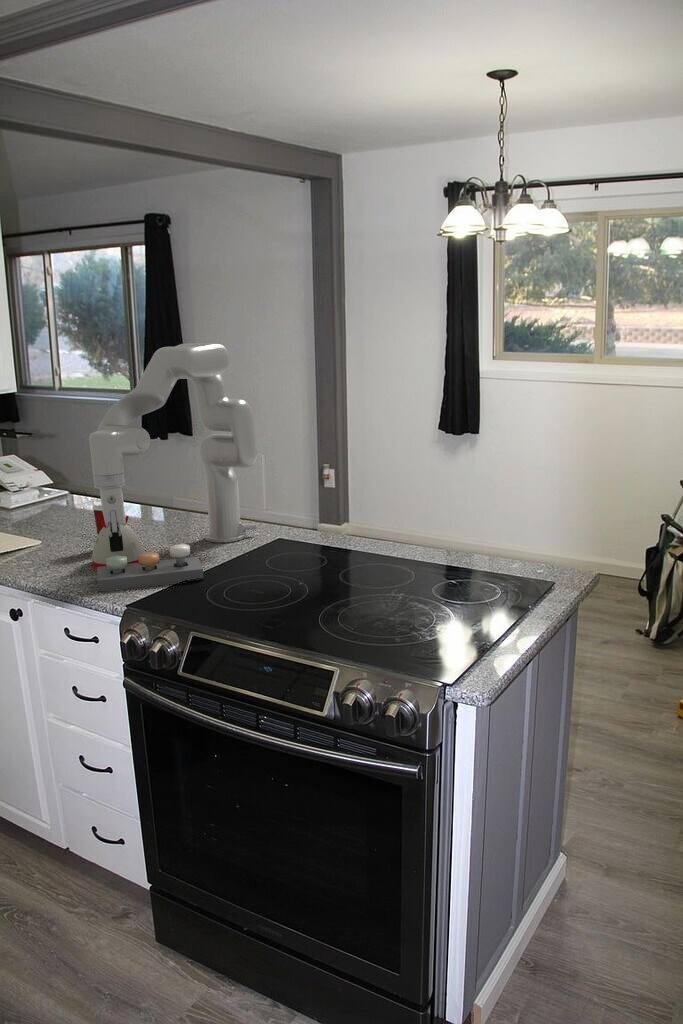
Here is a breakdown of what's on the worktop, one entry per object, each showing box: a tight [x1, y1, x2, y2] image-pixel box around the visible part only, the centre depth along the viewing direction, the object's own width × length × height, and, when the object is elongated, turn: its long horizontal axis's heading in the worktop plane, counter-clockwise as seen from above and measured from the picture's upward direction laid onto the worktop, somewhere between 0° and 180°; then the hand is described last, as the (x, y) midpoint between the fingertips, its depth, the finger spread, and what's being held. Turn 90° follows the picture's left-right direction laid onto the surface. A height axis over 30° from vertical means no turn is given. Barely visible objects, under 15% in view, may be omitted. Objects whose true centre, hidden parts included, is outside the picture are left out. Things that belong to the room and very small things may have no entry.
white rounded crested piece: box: [91, 515, 144, 569], centre depth 234 cm, size 14×14×15 cm
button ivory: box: [169, 543, 191, 567], centre depth 221 cm, size 5×5×5 cm
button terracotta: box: [138, 552, 160, 570], centre depth 219 cm, size 5×5×5 cm
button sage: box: [106, 556, 128, 574], centre depth 217 cm, size 5×5×5 cm
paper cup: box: [92, 500, 104, 535], centre depth 248 cm, size 8×8×14 cm
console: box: [96, 556, 204, 592], centre depth 219 cm, size 26×12×3 cm, turn 106°
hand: (117, 550), depth 216 cm, fingers closed
